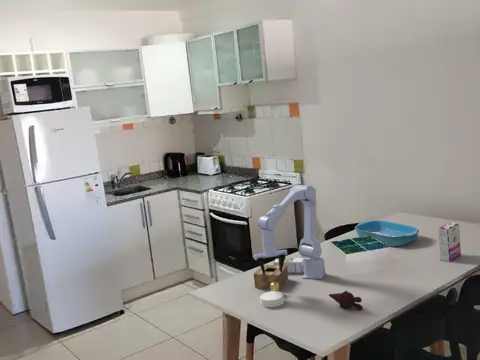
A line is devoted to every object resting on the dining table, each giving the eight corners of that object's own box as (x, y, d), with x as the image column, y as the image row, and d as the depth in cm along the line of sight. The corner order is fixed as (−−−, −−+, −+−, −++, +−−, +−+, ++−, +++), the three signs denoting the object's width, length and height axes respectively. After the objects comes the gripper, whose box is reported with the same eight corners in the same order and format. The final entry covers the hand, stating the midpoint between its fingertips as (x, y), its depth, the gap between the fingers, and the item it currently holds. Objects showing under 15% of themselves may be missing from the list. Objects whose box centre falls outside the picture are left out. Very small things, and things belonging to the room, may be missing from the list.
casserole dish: (428, 240, 276) (427, 227, 274) (400, 251, 264) (399, 238, 263) (375, 229, 306) (374, 217, 305) (348, 238, 294) (347, 226, 293)
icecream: (322, 293, 207) (356, 303, 198) (332, 282, 212) (365, 291, 203) (325, 306, 210) (358, 317, 201) (334, 296, 215) (367, 305, 205)
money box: (288, 279, 243) (286, 265, 242) (279, 289, 233) (277, 275, 232) (264, 278, 248) (263, 264, 247) (255, 287, 238) (253, 273, 237)
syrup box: (274, 273, 253) (303, 273, 249) (273, 262, 252) (302, 261, 248) (276, 269, 259) (305, 268, 254) (275, 257, 257) (304, 257, 253)
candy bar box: (451, 253, 252) (449, 221, 249) (461, 255, 248) (459, 222, 245) (439, 260, 245) (437, 227, 242) (449, 262, 241) (448, 228, 238)
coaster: (267, 310, 213) (266, 302, 212) (256, 302, 222) (256, 294, 222) (288, 303, 217) (287, 296, 216) (277, 296, 226) (276, 288, 225)
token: (281, 292, 229) (279, 281, 228) (278, 295, 226) (276, 285, 225) (273, 291, 231) (271, 281, 230) (270, 295, 227) (268, 284, 227)
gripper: (283, 238, 230) (286, 267, 233) (251, 243, 228) (254, 272, 231) (287, 242, 223) (290, 272, 226) (254, 247, 221) (257, 277, 224)
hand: (272, 272), depth 228 cm, fingers open, 7 cm apart
